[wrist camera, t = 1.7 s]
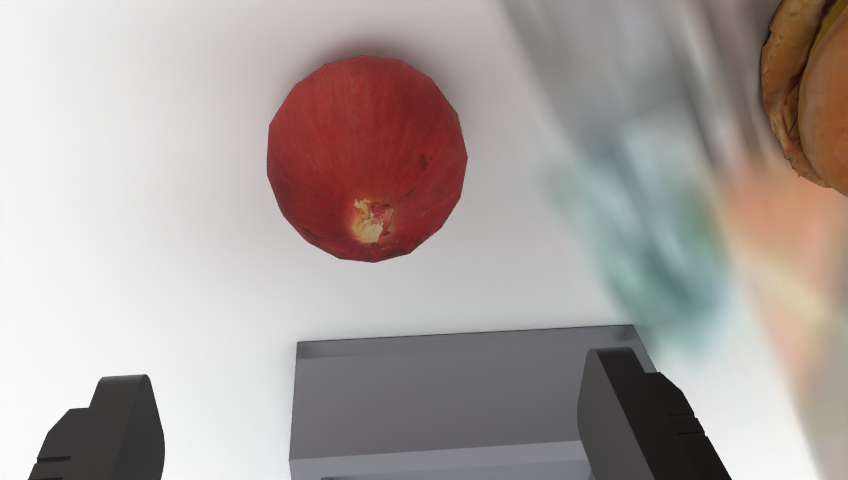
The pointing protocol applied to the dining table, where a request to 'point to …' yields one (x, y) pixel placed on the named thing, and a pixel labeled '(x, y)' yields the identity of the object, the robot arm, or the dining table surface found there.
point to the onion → (366, 158)
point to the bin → (446, 405)
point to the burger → (809, 88)
